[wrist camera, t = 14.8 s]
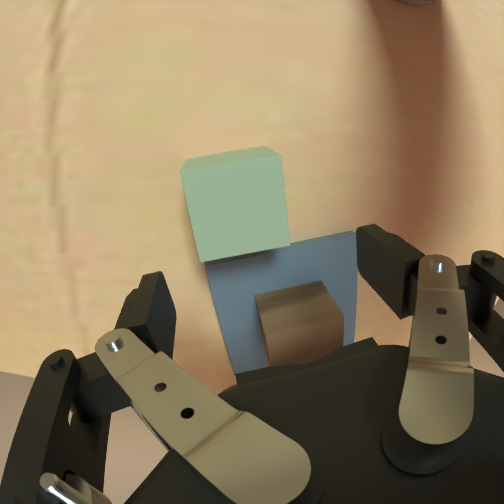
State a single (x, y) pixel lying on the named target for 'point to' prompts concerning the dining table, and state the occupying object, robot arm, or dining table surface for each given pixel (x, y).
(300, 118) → the dining table surface
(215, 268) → the base board
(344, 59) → the dining table surface
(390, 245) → the robot arm
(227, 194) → the sage green block
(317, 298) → the walnut block
